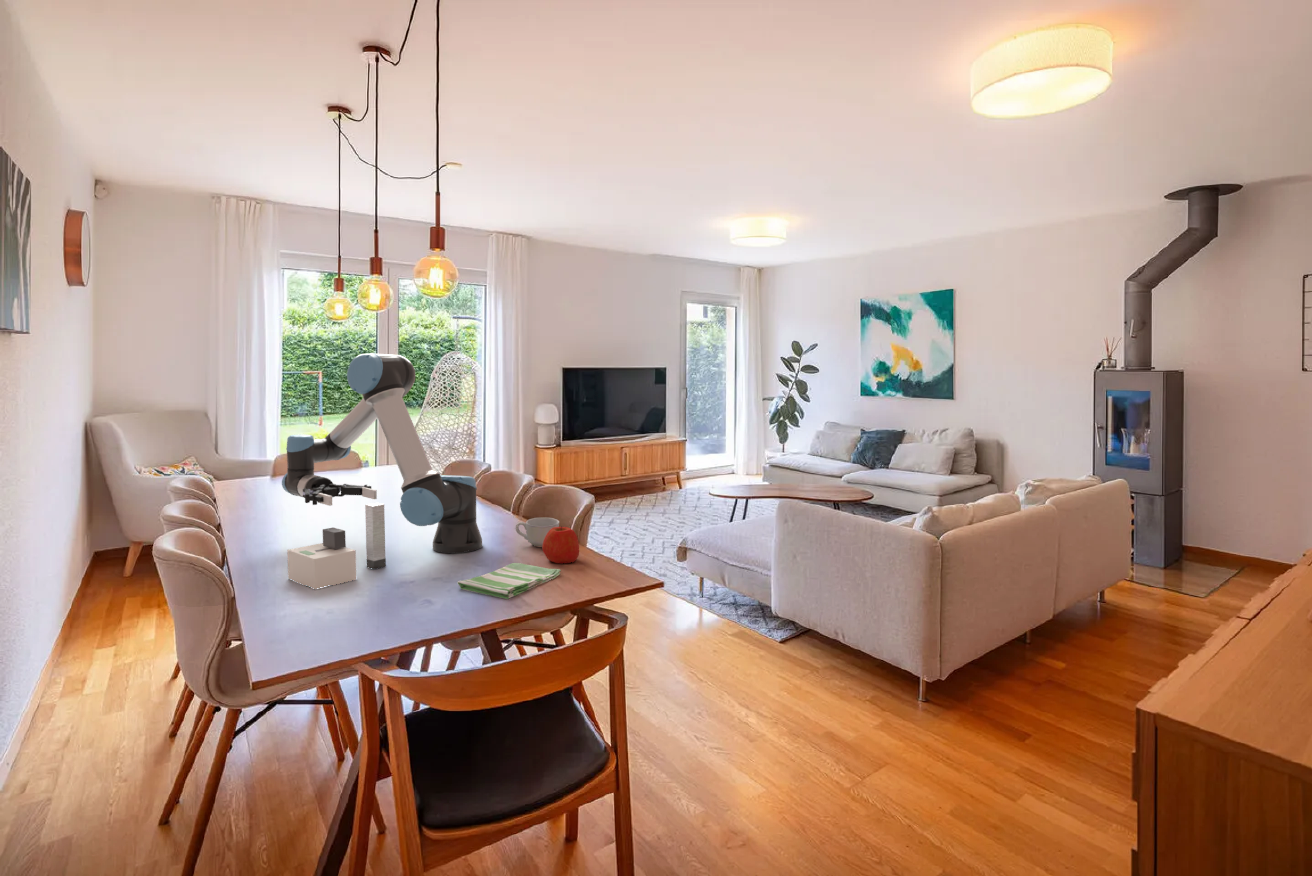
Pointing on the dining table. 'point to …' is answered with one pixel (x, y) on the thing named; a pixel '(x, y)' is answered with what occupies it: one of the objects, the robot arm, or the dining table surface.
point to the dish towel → (509, 580)
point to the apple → (561, 545)
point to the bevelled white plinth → (321, 565)
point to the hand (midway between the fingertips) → (353, 497)
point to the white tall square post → (375, 535)
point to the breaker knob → (334, 538)
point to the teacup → (537, 529)
